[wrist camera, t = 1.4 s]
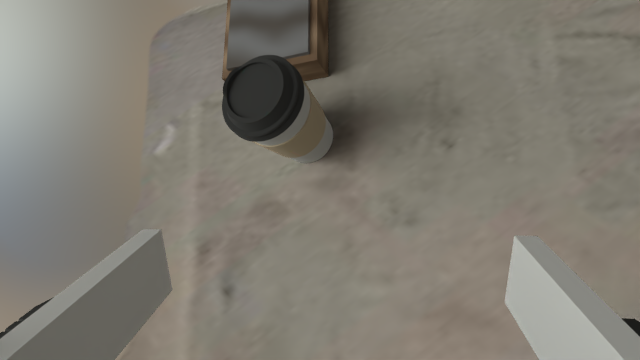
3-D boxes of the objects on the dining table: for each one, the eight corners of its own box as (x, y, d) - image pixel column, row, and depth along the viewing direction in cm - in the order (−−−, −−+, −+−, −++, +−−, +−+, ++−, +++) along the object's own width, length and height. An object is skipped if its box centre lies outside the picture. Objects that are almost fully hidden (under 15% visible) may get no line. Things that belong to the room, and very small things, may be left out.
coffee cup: (353, 120, 47) (310, 60, 33) (320, 182, 46) (263, 147, 33) (298, 97, 50) (238, 35, 37) (267, 155, 50) (195, 113, 36)
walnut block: (244, 11, 57) (225, -11, 53) (328, -12, 52) (315, -38, 48) (239, 92, 54) (219, 76, 49) (328, 76, 49) (315, 57, 45)
